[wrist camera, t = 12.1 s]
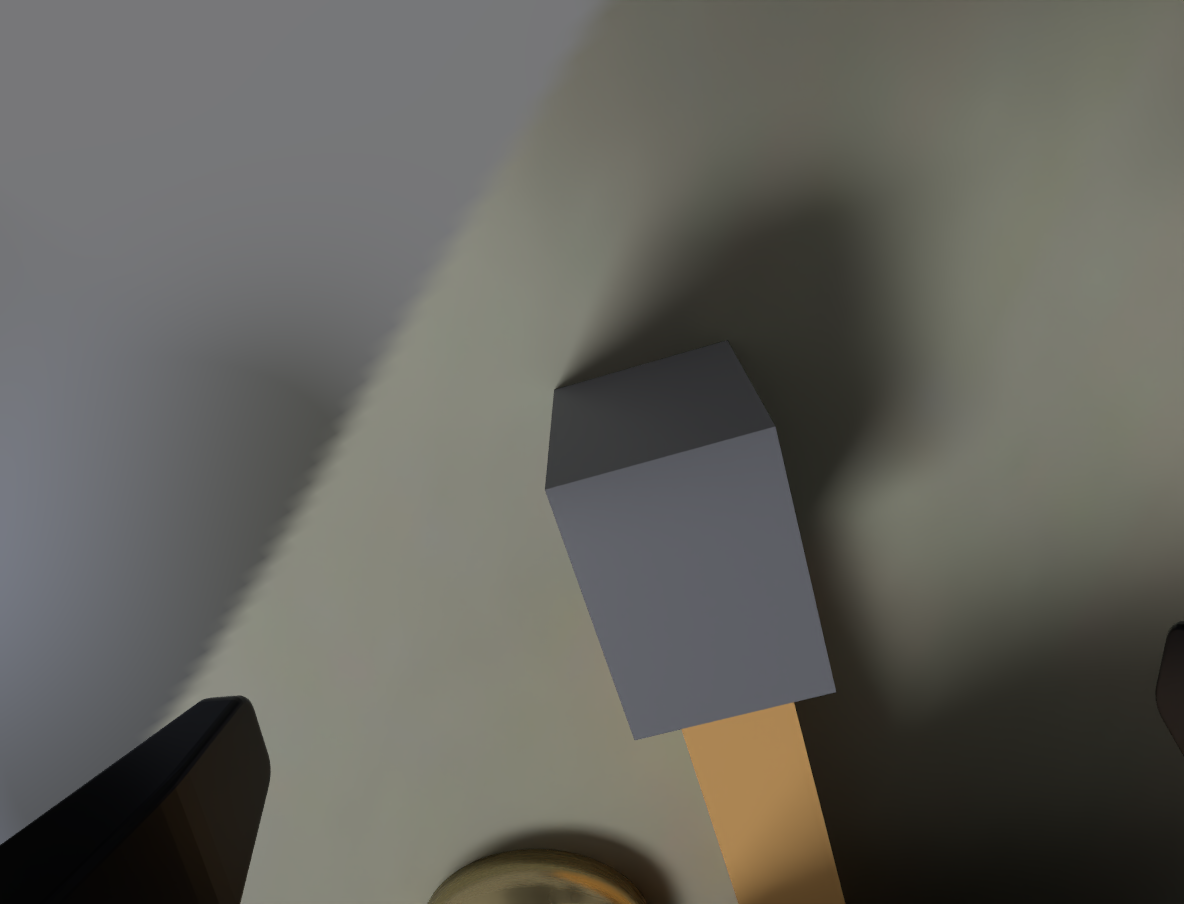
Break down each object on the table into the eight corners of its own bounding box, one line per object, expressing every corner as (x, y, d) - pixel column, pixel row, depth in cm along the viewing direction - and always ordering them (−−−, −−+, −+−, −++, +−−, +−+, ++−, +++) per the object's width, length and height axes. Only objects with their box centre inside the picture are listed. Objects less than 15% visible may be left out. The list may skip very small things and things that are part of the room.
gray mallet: (727, 339, 13) (775, 426, 10) (878, 965, 19) (941, 1151, 16) (554, 389, 13) (544, 489, 10) (755, 990, 19) (791, 1179, 16)
